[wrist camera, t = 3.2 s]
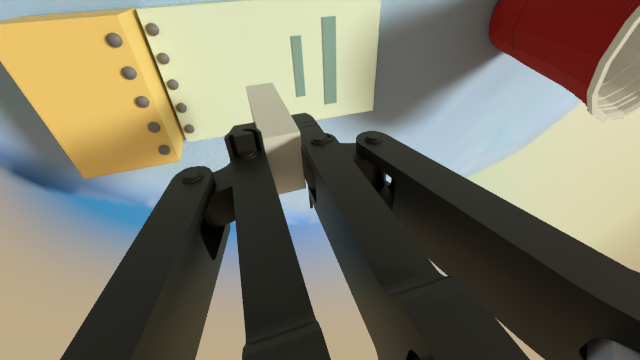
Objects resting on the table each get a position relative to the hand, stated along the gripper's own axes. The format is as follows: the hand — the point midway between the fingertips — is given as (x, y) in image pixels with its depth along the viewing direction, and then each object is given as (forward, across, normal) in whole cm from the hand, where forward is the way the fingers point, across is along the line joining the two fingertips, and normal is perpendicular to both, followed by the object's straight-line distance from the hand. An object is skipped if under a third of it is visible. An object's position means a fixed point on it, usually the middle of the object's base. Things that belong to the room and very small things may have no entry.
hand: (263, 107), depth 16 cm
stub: (+7, -9, 0) cm, 12 cm away
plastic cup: (+7, +25, +2) cm, 26 cm away
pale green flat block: (+7, +2, 0) cm, 8 cm away
